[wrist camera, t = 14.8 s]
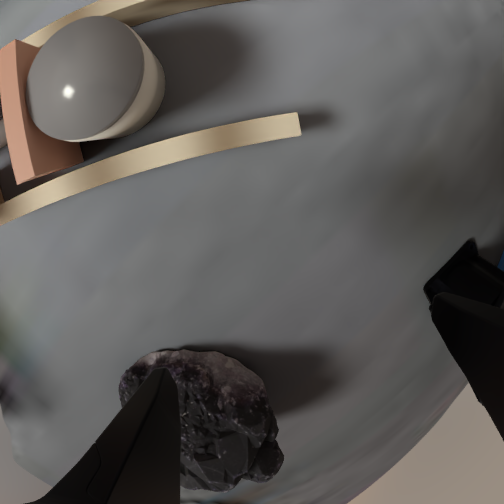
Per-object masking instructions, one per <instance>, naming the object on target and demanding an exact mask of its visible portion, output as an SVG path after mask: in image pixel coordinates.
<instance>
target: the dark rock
mask: <svg viewBox="0 0 504 504" xmlns="http://www.w3.org/2000/svg"><path fill="white" fill-rule="evenodd" d="M161 367H166V368H168V370H169V371H170V373H171V375H172V377H173V379H174V381H175V383H176V385H177V388H178V398H179V411H180V423H181V457H180V485H181V486H182V487H184V488H186V489H191V490H197V489H204V490H211V491H215V492H225V493H226V492H228V491H229V490H231V489H233V488H234V487H235V486H236V485H237V484H238V482H239V481H240V480H241V478H243V479H246V480H251V481H255V482H258V483H264V482H268V481H269V480H270V479H272V478H273V477H274V476H275V475H276V474H277V473H278V471H279V469H280V467H281V466H282V463H283V461H284V455H283V453H282V451H281V449H280V448H279V446H278V443H277V441H276V440H275V438H276V436H277V434H278V431H279V429H278V426H277V421H276V419H275V417H274V415H273V411H272V409H271V407H270V405H269V403H268V396H267V392H266V388H265V385H264V383H263V381H262V379H261V378H260V377H259V376H258V375H256V374H255V373H254V372H253V371H251V370H249V369H247V368H246V367H245V366H243V365H242V364H241V363H240V362H239V361H238V360H236V359H234V358H231V357H227V356H224V354H222V353H219V352H216V351H208V352H194V351H189V350H185V349H183V350H180V351H168V350H166V351H163V352H157V351H155V352H151V353H150V354H148V355H147V356H145V357H142V358H140V359H139V360H138V361H137V362H136V363H135V364H134V365H133V366H131V367H130V368H129V370H126V372H125V373H124V374H123V375H122V376H121V379H120V384H119V398H120V401H121V405H122V408H123V406H124V405H125V404H126V403H127V402H128V400H129V399H130V398H131V397H132V395H133V394H134V393H135V392H136V390H137V389H138V388H139V387H140V385H141V384H142V383H143V382H144V380H145V379H146V378H147V377H148V375H149V374H150V373H151V372H152V371H153V369H155V368H161Z"/></svg>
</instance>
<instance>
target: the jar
mask: <svg viewBox="0 0 504 504" xmlns="http://www.w3.org/2000/svg"><path fill="white" fill-rule="evenodd" d="M165 83H166V81H165V74H164V70H163V68H162V65H161V63H160V62H159V60H158V59H157V58H156V56H155V55H154V54H153V53H152V51H151V50H150V49H149V48H148V47H147V45H146V44H145V43H144V42H143V40H142V39H141V38H140V37H139V36H138V34H137V33H136V32H135V31H134V30H133V29H132V28H130V27H129V26H128V25H126V24H124V23H122V22H121V21H119V20H117V19H114V18H111V17H106V16H90V17H85V18H81V19H78V20H76V21H73V22H71V23H69V24H67V25H66V26H64V27H63V28H61V29H60V30H58V31H57V32H56V33H55V34H53V35H52V36H51V37H50V38H49V39H48V40H47V41H46V43H45V44H44V45H43V46H42V48H41V49H40V51H39V52H38V54H37V55H36V57H35V59H34V61H33V63H32V65H31V68H30V71H29V74H28V78H27V83H26V103H27V108H28V111H29V114H30V116H31V118H32V120H33V122H34V123H35V125H36V126H37V127H38V128H39V129H40V130H41V131H42V132H44V133H45V134H46V135H48V136H50V137H52V138H56V139H60V140H64V141H70V142H81V141H90V140H101V139H113V138H121V137H125V136H128V135H130V134H133V133H134V132H136V131H138V130H139V129H141V128H142V127H144V126H145V125H146V124H147V123H148V122H149V121H150V120H151V119H152V118H153V117H154V115H155V114H156V112H157V111H158V109H159V107H160V105H161V103H162V100H163V97H164V93H165Z"/></svg>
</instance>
